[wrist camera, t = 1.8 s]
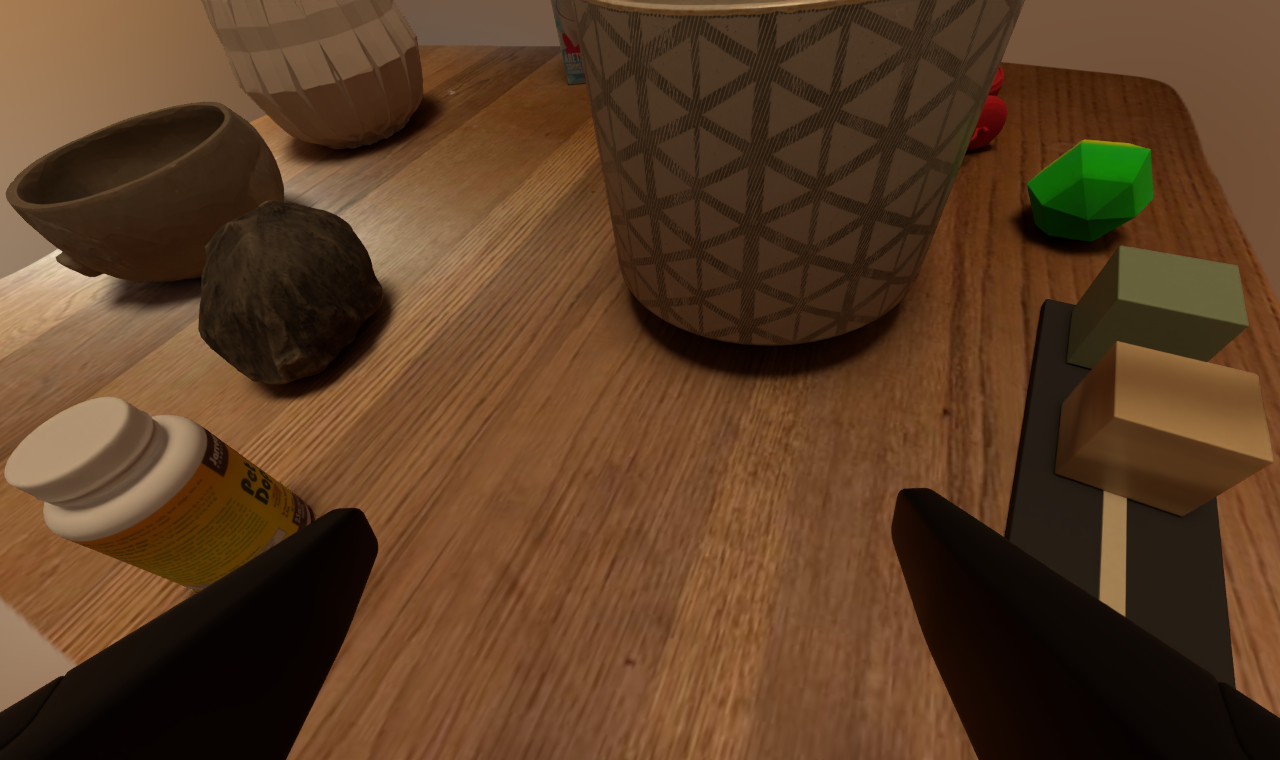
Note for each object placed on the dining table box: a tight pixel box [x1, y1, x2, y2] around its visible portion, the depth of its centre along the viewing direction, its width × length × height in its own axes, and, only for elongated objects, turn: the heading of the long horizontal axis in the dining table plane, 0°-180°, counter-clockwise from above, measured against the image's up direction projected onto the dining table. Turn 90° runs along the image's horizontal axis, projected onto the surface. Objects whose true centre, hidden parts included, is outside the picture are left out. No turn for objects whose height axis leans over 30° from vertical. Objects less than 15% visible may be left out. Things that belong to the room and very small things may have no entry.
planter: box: [571, 0, 1025, 346], centre depth 28 cm, size 19×19×18 cm
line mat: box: [1005, 299, 1236, 689], centre depth 22 cm, size 25×7×1 cm, turn 149°
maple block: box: [1055, 341, 1274, 516], centre depth 21 cm, size 4×4×4 cm
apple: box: [1027, 140, 1153, 242], centre depth 33 cm, size 7×6×9 cm
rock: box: [199, 200, 383, 385], centre depth 33 cm, size 10×11×10 cm
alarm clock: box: [967, 66, 1007, 150], centre depth 44 cm, size 10×6×15 cm
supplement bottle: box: [5, 397, 311, 591], centre depth 22 cm, size 6×6×10 cm
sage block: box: [1067, 246, 1249, 369], centre depth 25 cm, size 4×4×4 cm
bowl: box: [6, 102, 284, 282], centre depth 43 cm, size 17×18×10 cm
